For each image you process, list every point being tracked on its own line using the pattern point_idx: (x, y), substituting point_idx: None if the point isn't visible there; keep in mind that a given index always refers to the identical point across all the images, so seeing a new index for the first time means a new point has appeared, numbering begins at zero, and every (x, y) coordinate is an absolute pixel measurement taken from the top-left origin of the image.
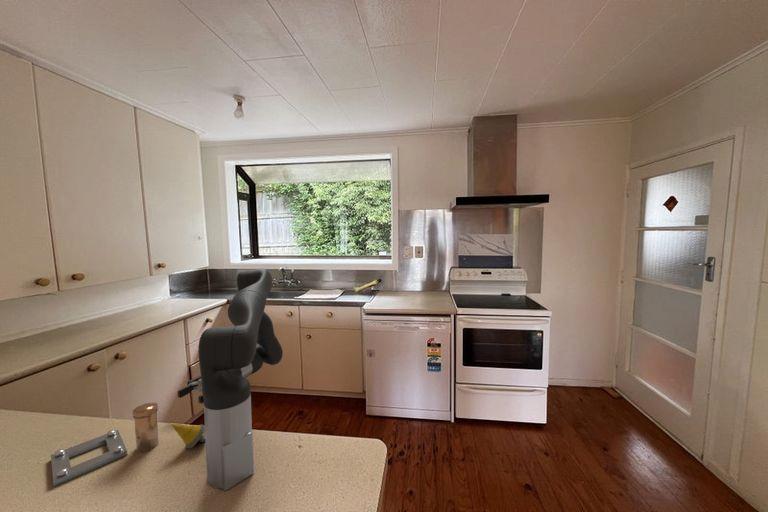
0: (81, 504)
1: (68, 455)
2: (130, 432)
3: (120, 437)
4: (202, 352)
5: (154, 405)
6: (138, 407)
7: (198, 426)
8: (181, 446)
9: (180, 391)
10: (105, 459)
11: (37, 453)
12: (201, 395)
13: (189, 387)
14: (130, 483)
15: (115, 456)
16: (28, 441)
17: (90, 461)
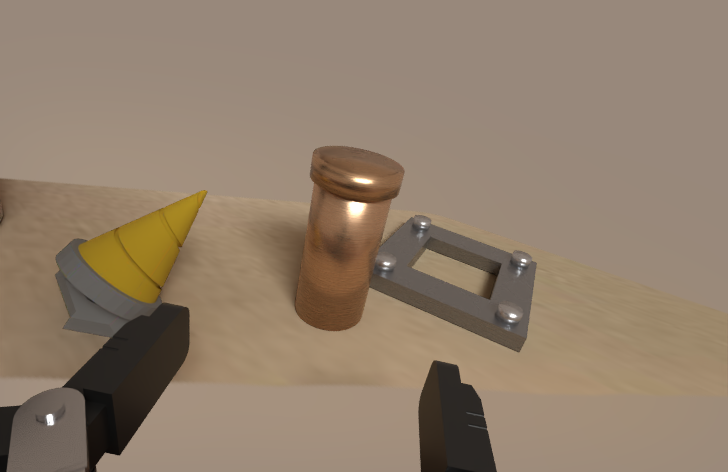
0: (300, 203)
1: (492, 259)
2: (486, 362)
3: (455, 307)
4: None
5: (336, 164)
6: (394, 167)
7: (93, 248)
8: (183, 306)
9: (434, 369)
10: (379, 248)
11: (598, 289)
12: (165, 311)
13: (440, 456)
14: (242, 222)
15: None
16: (700, 319)
17: (408, 244)
